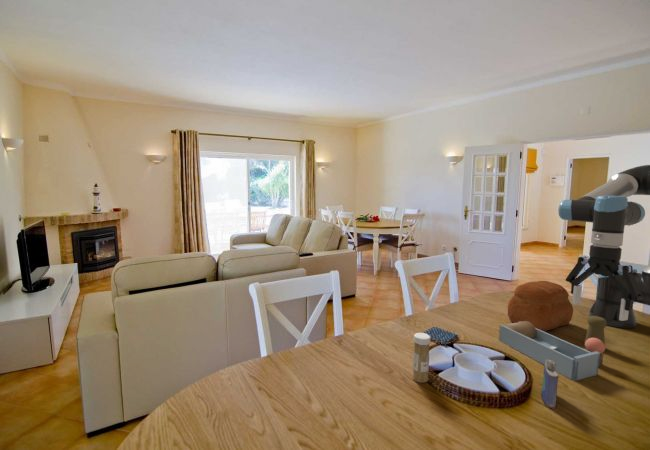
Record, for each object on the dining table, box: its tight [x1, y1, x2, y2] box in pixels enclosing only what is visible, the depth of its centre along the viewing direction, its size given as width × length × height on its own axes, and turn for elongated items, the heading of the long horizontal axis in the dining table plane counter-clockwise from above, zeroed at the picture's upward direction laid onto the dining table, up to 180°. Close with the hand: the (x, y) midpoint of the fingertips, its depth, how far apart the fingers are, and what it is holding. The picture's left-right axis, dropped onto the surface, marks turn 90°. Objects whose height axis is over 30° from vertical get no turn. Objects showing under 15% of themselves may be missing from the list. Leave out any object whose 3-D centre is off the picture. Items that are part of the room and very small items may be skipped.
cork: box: [583, 316, 608, 352], centre depth 118 cm, size 6×6×11 cm
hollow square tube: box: [586, 349, 604, 366], centre depth 107 cm, size 3×3×4 cm
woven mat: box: [423, 326, 460, 345], centre depth 125 cm, size 10×11×2 cm
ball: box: [584, 338, 606, 354], centre depth 107 cm, size 5×5×5 cm
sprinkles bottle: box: [412, 332, 431, 384], centre depth 98 cm, size 5×5×14 cm
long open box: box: [498, 321, 600, 382], centre depth 111 cm, size 10×27×8 cm, turn 20°
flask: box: [540, 359, 559, 410], centre depth 89 cm, size 9×3×11 cm, turn 151°
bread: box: [507, 280, 574, 332], centre depth 138 cm, size 18×22×17 cm
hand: (598, 311), depth 106 cm, fingers open, 13 cm apart
